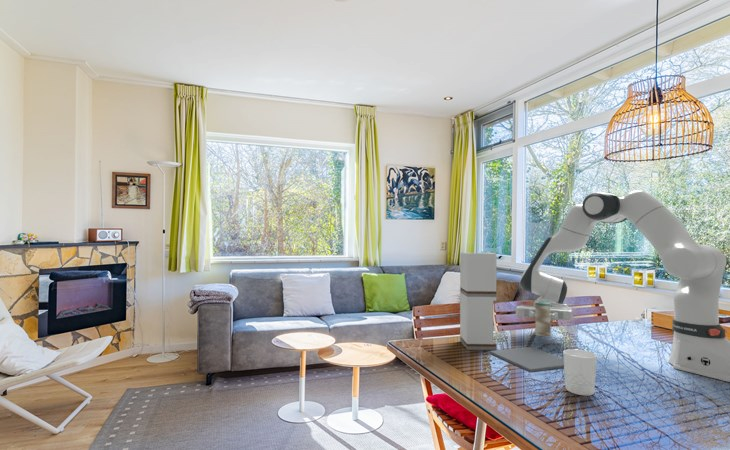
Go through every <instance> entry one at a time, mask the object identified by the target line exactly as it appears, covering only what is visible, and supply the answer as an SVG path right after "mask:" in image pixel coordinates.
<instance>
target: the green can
mask: <svg viewBox="0 0 730 450" xmlns="http://www.w3.org/2000/svg"><path fill="white" fill-rule="evenodd" d="M534 302H535V301H534ZM551 322H552V321H550V302H540V301H536V302H535V336H538V337H540V336H541V337H552V336H551V335H552V330H551V325H552V324H551Z"/></svg>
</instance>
